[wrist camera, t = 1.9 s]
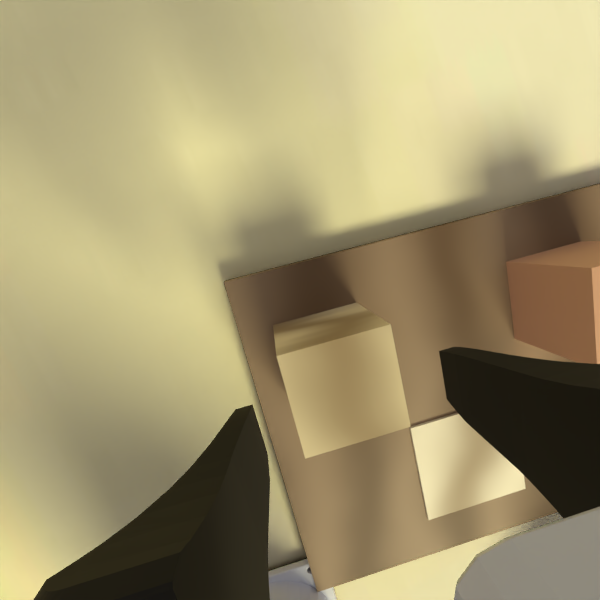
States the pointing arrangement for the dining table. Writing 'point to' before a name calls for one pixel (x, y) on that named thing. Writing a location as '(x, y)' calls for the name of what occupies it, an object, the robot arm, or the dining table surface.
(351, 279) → the brown wooden board
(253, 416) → the robot arm
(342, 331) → the birch block
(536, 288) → the terracotta block
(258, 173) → the dining table surface
